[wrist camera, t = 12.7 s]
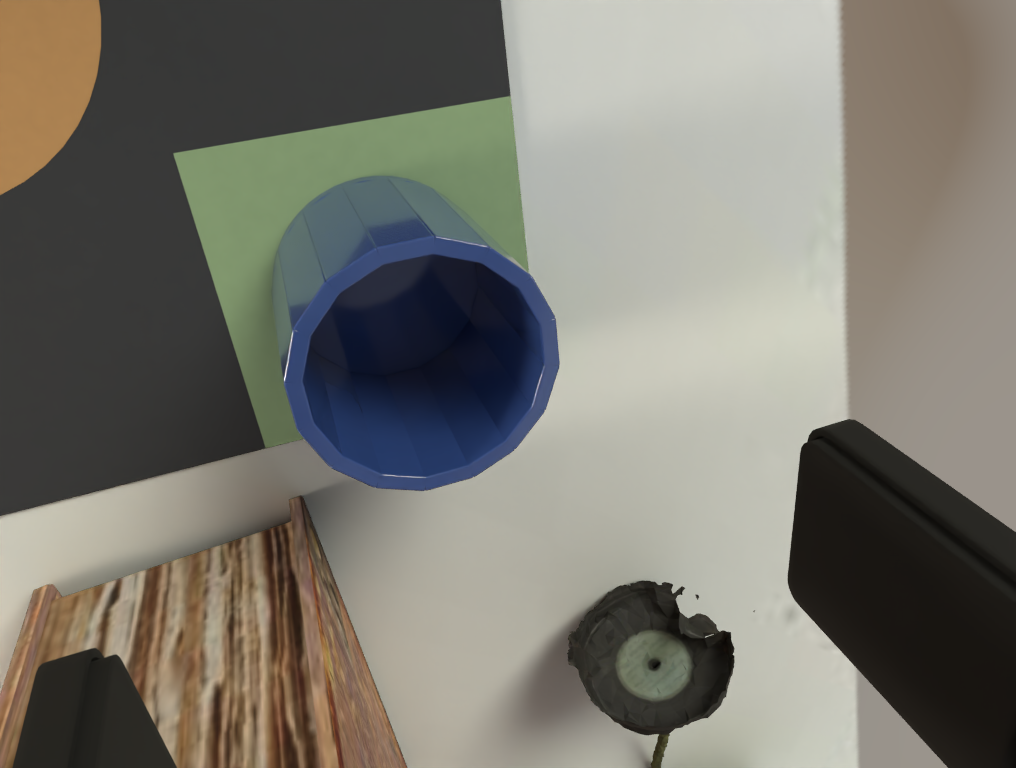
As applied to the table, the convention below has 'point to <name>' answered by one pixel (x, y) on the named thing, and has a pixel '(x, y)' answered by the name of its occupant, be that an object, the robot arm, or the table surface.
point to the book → (224, 655)
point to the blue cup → (407, 336)
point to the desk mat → (204, 206)
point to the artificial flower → (651, 661)
